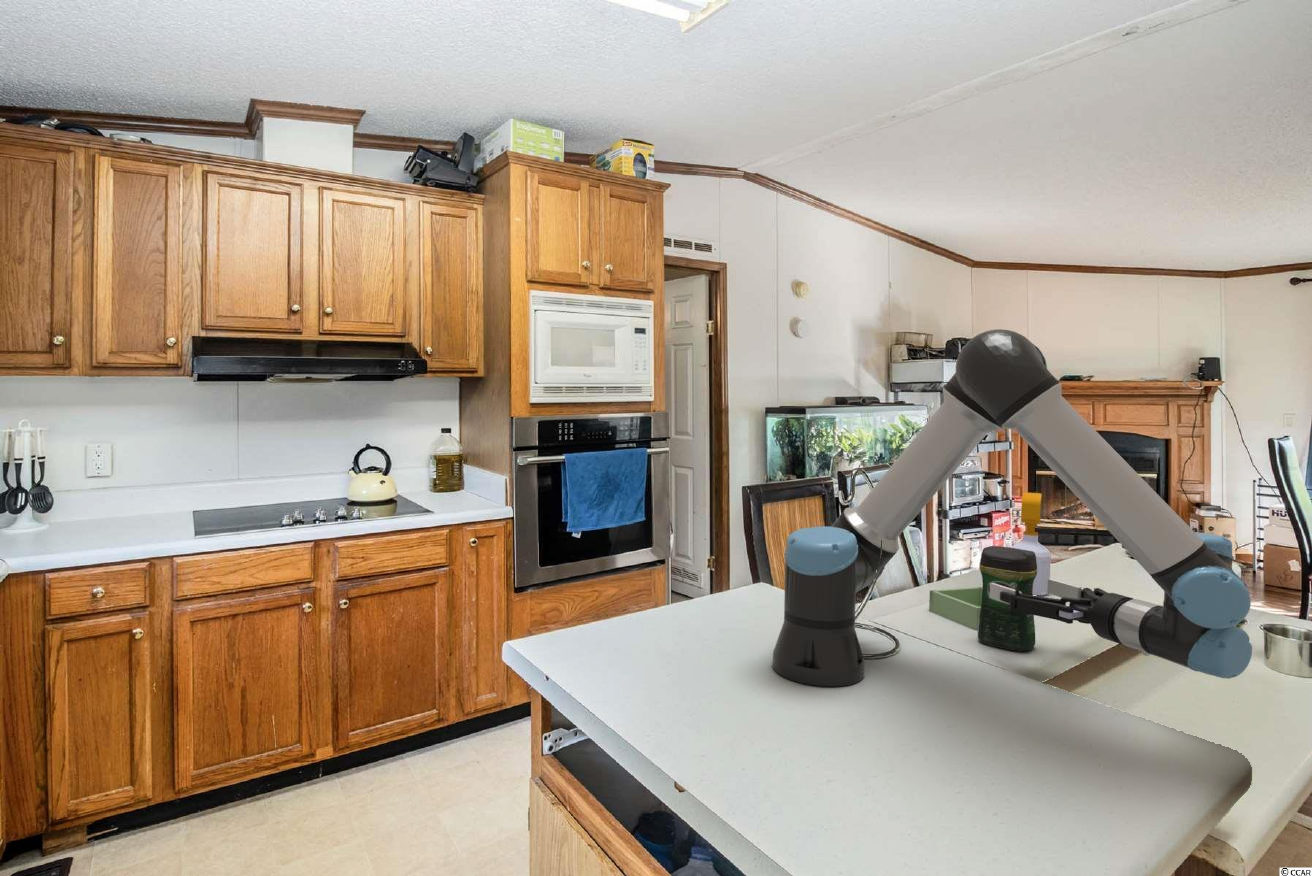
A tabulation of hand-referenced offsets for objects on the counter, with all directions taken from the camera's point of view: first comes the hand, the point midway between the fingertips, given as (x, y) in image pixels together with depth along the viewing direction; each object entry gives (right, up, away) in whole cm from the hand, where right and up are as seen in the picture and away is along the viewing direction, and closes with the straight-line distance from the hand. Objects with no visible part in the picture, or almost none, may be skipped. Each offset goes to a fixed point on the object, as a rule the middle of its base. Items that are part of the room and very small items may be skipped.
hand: (1020, 588), depth 129 cm
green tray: (+2, -11, +19) cm, 22 cm away
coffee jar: (-1, -12, +3) cm, 12 cm away
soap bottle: (+24, -10, +43) cm, 50 cm away
